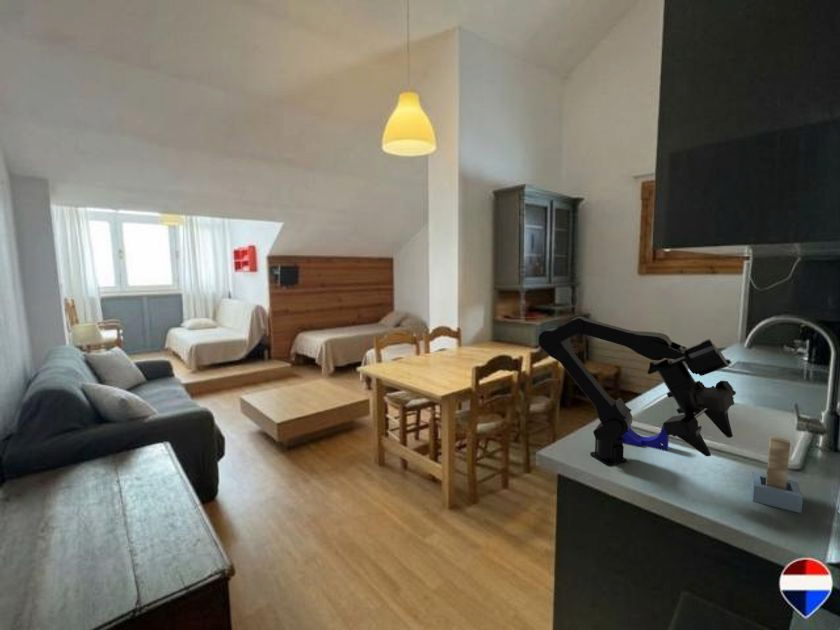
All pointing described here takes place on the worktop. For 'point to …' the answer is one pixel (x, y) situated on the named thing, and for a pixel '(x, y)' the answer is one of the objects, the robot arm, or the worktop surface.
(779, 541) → the worktop surface
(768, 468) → the slat
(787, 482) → the blue-grey socket block
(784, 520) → the worktop surface
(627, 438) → the cable clip
